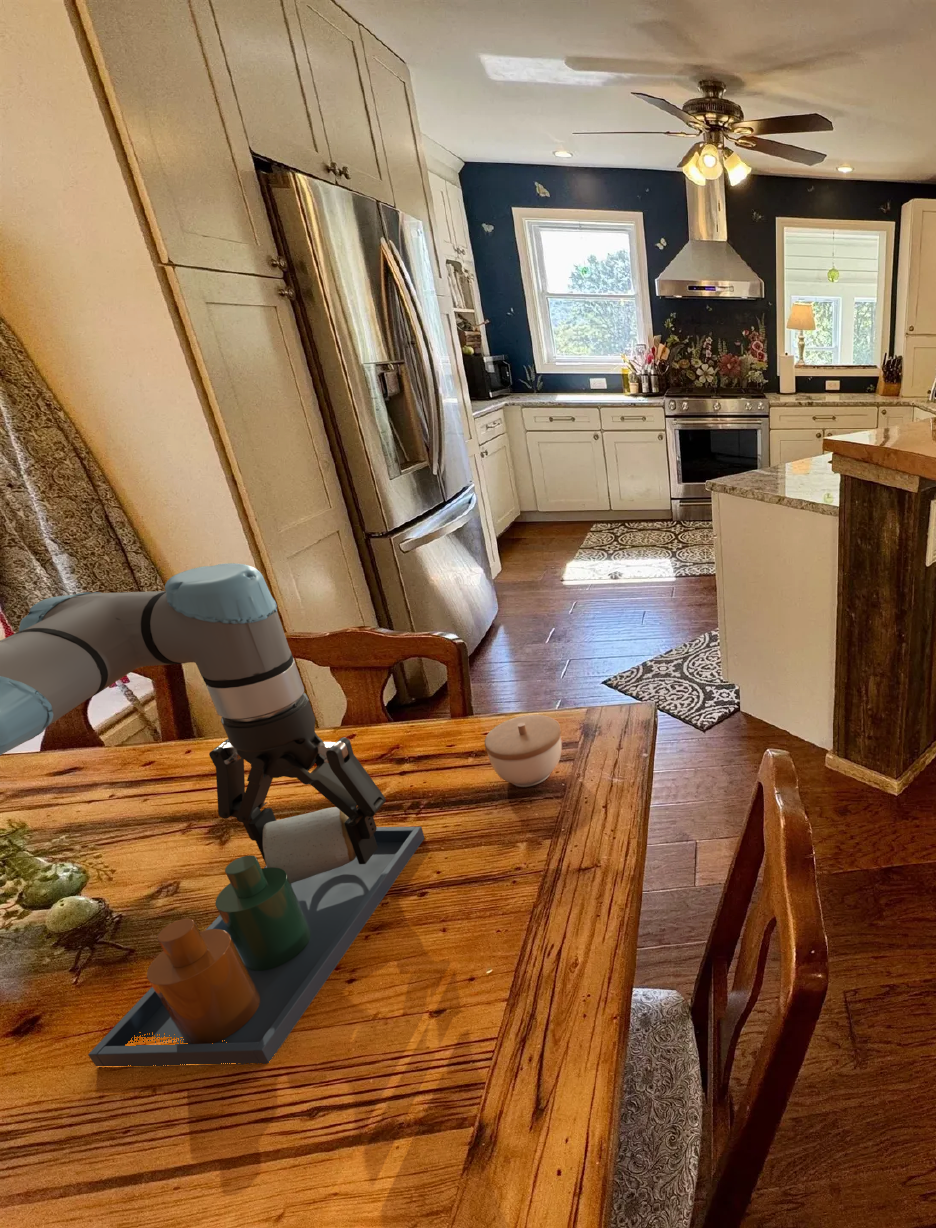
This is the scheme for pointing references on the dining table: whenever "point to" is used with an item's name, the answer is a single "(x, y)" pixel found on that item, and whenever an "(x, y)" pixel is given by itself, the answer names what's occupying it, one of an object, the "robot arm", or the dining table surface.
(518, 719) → the trinket box
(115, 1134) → the dining table surface
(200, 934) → the amber bottle
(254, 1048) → the tray
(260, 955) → the green bottle
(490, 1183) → the dining table surface
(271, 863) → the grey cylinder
